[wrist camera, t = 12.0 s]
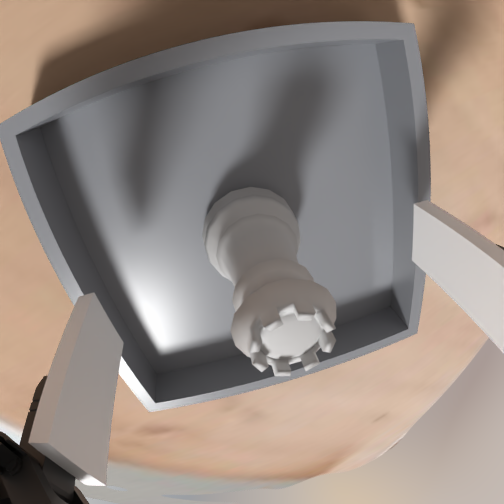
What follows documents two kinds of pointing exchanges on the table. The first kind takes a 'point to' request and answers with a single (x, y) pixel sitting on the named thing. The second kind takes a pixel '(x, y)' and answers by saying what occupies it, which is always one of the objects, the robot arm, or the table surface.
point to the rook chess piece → (268, 281)
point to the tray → (230, 179)
